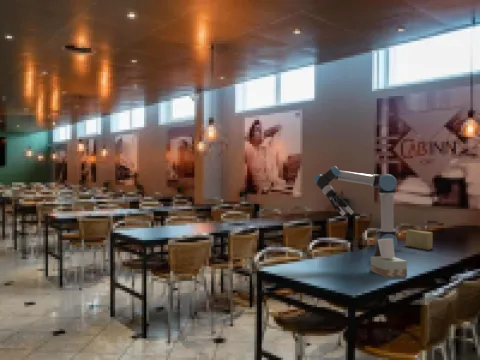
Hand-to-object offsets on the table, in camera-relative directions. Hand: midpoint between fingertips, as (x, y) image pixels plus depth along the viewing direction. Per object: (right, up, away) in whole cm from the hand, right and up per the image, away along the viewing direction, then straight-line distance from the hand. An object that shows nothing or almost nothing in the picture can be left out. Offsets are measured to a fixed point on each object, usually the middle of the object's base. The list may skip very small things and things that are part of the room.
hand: (348, 214), depth 293 cm
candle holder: (+20, -27, -23) cm, 41 cm away
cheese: (+82, -36, +76) cm, 117 cm away
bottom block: (+20, -37, -23) cm, 48 cm away
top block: (+20, -32, -23) cm, 45 cm away
